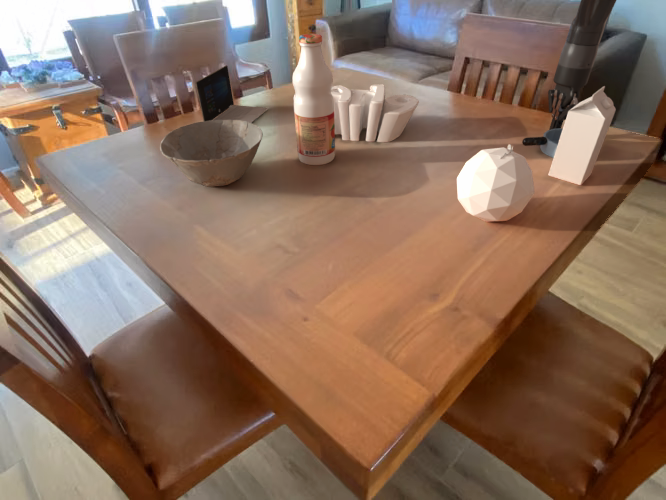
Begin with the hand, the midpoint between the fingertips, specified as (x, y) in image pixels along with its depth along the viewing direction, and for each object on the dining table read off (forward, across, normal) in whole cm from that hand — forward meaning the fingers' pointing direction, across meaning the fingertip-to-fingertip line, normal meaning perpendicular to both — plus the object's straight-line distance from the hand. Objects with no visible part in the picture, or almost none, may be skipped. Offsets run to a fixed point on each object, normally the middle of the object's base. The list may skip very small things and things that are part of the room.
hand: (553, 132), depth 112 cm
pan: (+2, -8, +3) cm, 9 cm away
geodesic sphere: (+2, -34, +30) cm, 45 cm away
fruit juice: (+2, -4, +63) cm, 63 cm away
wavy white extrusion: (+2, +13, +52) cm, 53 cm away
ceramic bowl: (+2, -12, +86) cm, 87 cm away
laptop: (+3, +26, +86) cm, 89 cm away
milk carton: (+2, -20, +6) cm, 21 cm away
